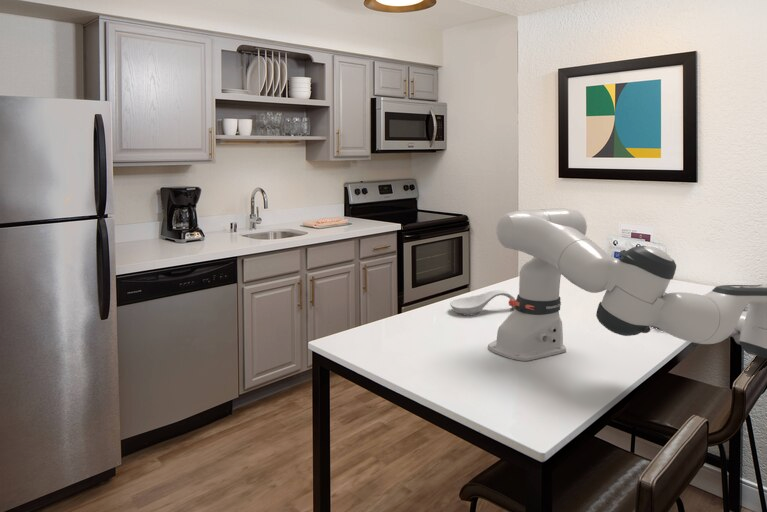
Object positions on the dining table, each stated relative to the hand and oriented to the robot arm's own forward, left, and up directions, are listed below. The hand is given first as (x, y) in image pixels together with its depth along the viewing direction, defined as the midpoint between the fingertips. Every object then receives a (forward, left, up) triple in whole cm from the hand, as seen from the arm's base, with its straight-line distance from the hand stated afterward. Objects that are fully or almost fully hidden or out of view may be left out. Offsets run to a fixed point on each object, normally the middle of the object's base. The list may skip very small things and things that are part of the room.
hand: (700, 316), depth 161 cm
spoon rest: (-28, +59, -7) cm, 65 cm away
